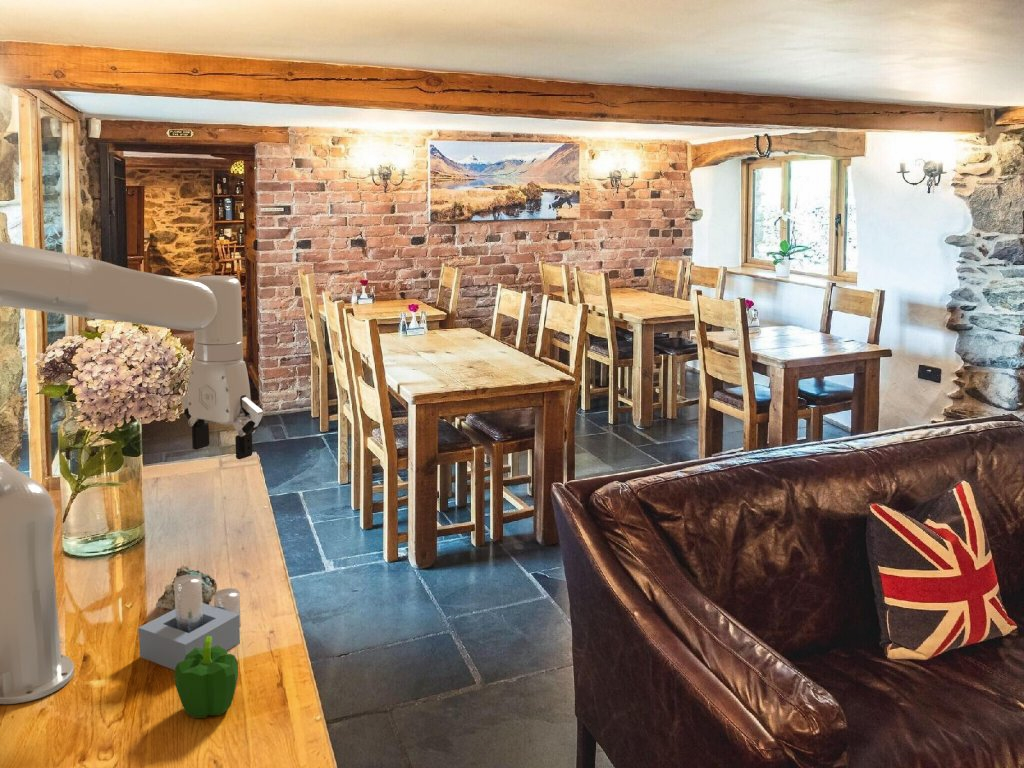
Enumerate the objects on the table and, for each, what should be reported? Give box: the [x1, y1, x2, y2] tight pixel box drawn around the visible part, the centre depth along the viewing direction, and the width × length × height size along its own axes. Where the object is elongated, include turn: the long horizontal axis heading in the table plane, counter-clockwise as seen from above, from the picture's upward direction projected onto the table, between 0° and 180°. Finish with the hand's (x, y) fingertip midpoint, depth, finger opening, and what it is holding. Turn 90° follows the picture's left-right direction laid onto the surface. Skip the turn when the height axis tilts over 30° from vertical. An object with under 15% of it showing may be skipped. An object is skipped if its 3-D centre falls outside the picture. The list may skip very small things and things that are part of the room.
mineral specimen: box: [155, 564, 218, 611], centre depth 153 cm, size 12×9×8 cm
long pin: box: [173, 574, 203, 633], centre depth 138 cm, size 4×4×12 cm
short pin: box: [213, 587, 241, 629], centre depth 146 cm, size 4×4×6 cm
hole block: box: [138, 603, 241, 671], centre depth 139 cm, size 11×10×5 cm
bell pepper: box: [173, 636, 239, 719], centre depth 123 cm, size 8×8×10 cm
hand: (222, 452), depth 147 cm, fingers open, 9 cm apart
